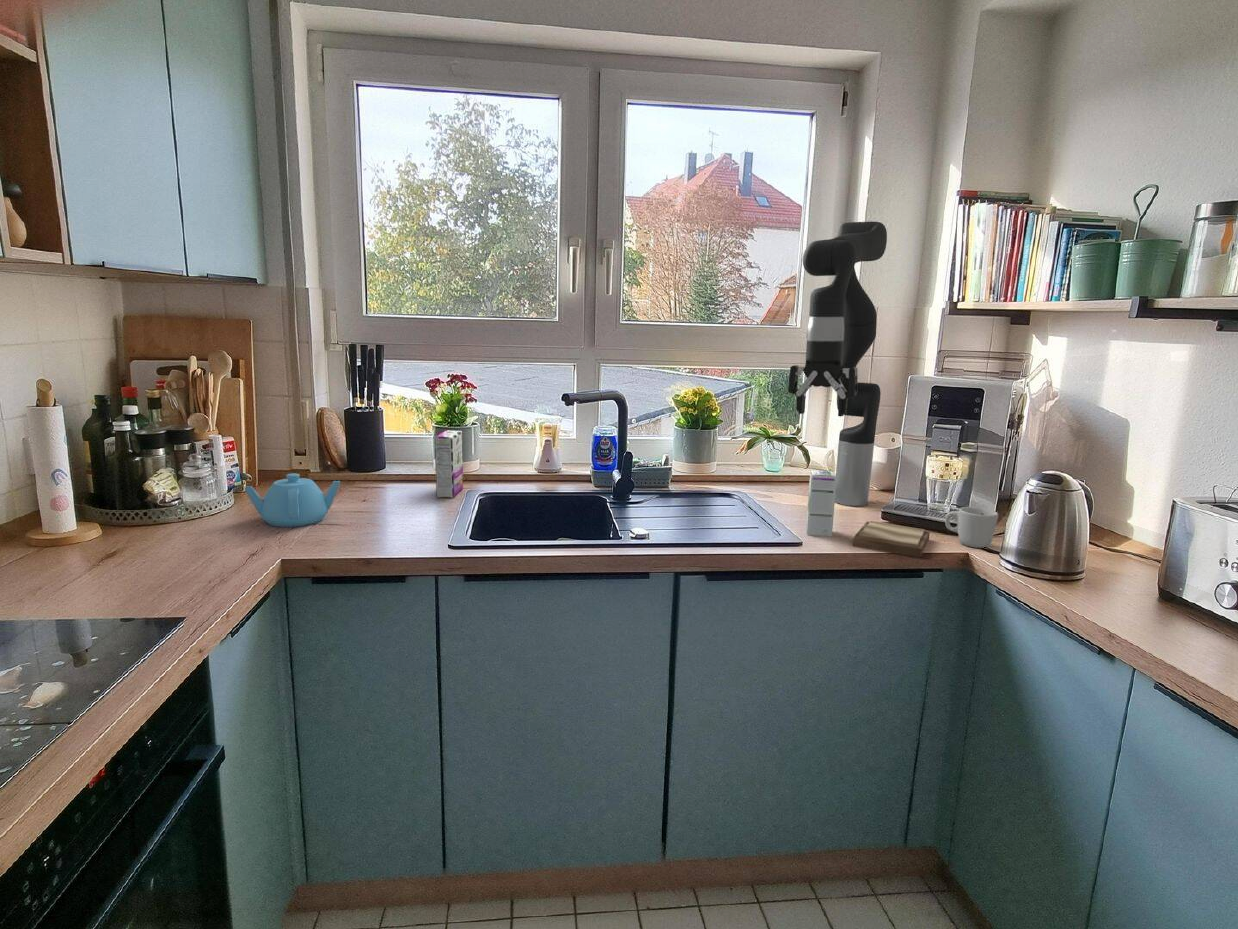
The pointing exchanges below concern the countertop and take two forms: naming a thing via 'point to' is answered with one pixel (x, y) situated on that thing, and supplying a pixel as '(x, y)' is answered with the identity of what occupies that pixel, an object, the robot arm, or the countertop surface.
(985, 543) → the cup
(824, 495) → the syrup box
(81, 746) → the countertop surface
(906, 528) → the riser
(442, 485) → the candy bar box
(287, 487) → the teapot
